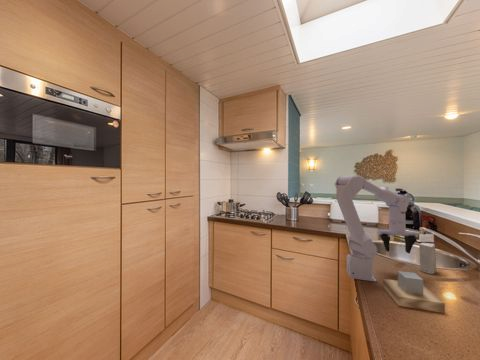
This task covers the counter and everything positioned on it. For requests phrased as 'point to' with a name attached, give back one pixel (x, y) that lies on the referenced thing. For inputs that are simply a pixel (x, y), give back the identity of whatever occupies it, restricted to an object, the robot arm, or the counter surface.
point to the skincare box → (427, 258)
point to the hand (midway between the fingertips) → (397, 251)
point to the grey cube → (410, 282)
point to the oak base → (413, 297)
